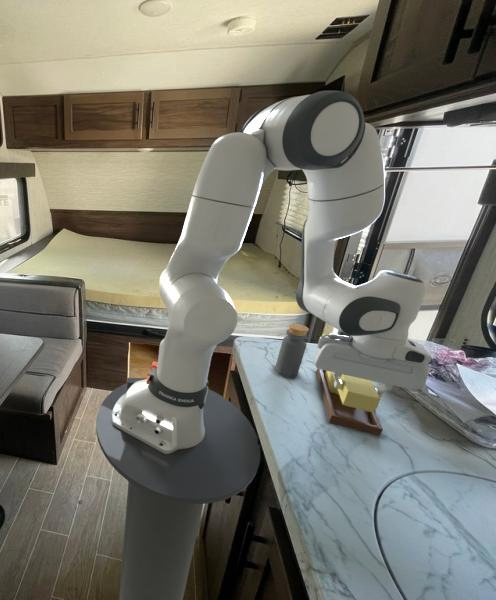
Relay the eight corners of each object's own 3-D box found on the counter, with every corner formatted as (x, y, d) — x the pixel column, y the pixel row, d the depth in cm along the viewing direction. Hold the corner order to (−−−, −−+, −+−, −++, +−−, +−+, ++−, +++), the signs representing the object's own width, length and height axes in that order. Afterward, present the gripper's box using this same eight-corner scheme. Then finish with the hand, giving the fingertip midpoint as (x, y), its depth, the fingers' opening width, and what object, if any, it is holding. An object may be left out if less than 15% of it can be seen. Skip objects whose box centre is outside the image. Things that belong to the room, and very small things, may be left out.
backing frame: (329, 422, 76) (331, 415, 75) (316, 372, 95) (318, 366, 94) (379, 436, 72) (383, 429, 72) (355, 381, 91) (358, 375, 90)
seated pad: (330, 392, 85) (334, 380, 84) (324, 374, 93) (328, 362, 91) (357, 399, 83) (362, 386, 82) (349, 380, 91) (354, 368, 89)
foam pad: (342, 404, 75) (348, 391, 74) (335, 383, 83) (340, 370, 81) (374, 413, 73) (380, 399, 71) (364, 390, 80) (369, 377, 79)
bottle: (292, 367, 97) (306, 323, 91) (300, 379, 92) (315, 333, 86) (271, 365, 98) (283, 321, 92) (278, 376, 92) (291, 330, 87)
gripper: (323, 337, 74) (307, 386, 79) (442, 360, 65) (415, 413, 71) (319, 326, 79) (304, 373, 84) (429, 345, 71) (405, 396, 76)
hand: (356, 391), depth 77 cm, fingers closed on foam pad, 6 cm apart
